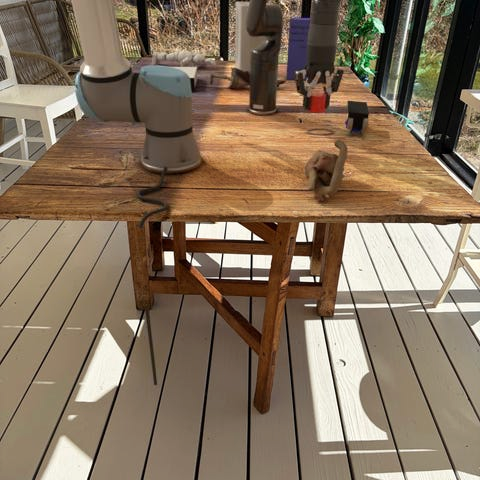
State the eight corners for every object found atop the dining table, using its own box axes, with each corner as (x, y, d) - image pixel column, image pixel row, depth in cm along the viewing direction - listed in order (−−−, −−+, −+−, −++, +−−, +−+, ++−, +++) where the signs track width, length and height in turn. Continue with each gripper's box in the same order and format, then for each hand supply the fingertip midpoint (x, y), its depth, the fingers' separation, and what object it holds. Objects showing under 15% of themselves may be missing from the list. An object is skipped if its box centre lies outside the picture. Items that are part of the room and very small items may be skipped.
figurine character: (367, 142, 142) (363, 122, 154) (371, 118, 138) (367, 99, 149) (344, 141, 143) (342, 120, 155) (348, 117, 138) (346, 98, 150)
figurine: (210, 87, 179) (288, 95, 182) (212, 65, 176) (291, 73, 180) (208, 84, 201) (278, 91, 205) (210, 64, 198) (280, 71, 202)
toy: (171, 74, 211) (170, 58, 208) (148, 64, 229) (146, 49, 225) (218, 68, 223) (218, 53, 219) (192, 59, 240) (192, 44, 237)
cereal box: (326, 78, 209) (332, 18, 196) (327, 80, 205) (333, 19, 192) (286, 77, 210) (290, 17, 197) (286, 79, 206) (290, 18, 193)
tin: (315, 114, 128) (316, 97, 125) (303, 109, 131) (304, 93, 129) (328, 111, 130) (330, 95, 128) (316, 107, 133) (317, 91, 131)
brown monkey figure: (321, 192, 118) (322, 208, 103) (296, 168, 117) (293, 181, 103) (359, 155, 113) (365, 166, 99) (333, 130, 112) (335, 137, 98)
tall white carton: (273, 76, 210) (276, 6, 196) (239, 77, 209) (240, 6, 194) (266, 67, 226) (268, 2, 212) (235, 67, 225) (235, 1, 210)
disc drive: (149, 91, 185) (148, 77, 183) (156, 78, 205) (156, 65, 202) (194, 91, 186) (194, 78, 183) (197, 78, 205) (197, 66, 203)
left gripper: (165, -90, 121) (170, 3, 132) (147, -84, 141) (153, -4, 152) (135, -91, 119) (143, 4, 129) (121, -85, 139) (129, -3, 150)
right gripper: (304, 46, 116) (298, 115, 125) (354, 43, 121) (345, 110, 130) (290, 41, 122) (286, 107, 131) (338, 39, 127) (331, 103, 136)
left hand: (148, 0), depth 141 cm, fingers open, 13 cm apart
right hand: (315, 108), depth 130 cm, fingers closed on tin, 4 cm apart
